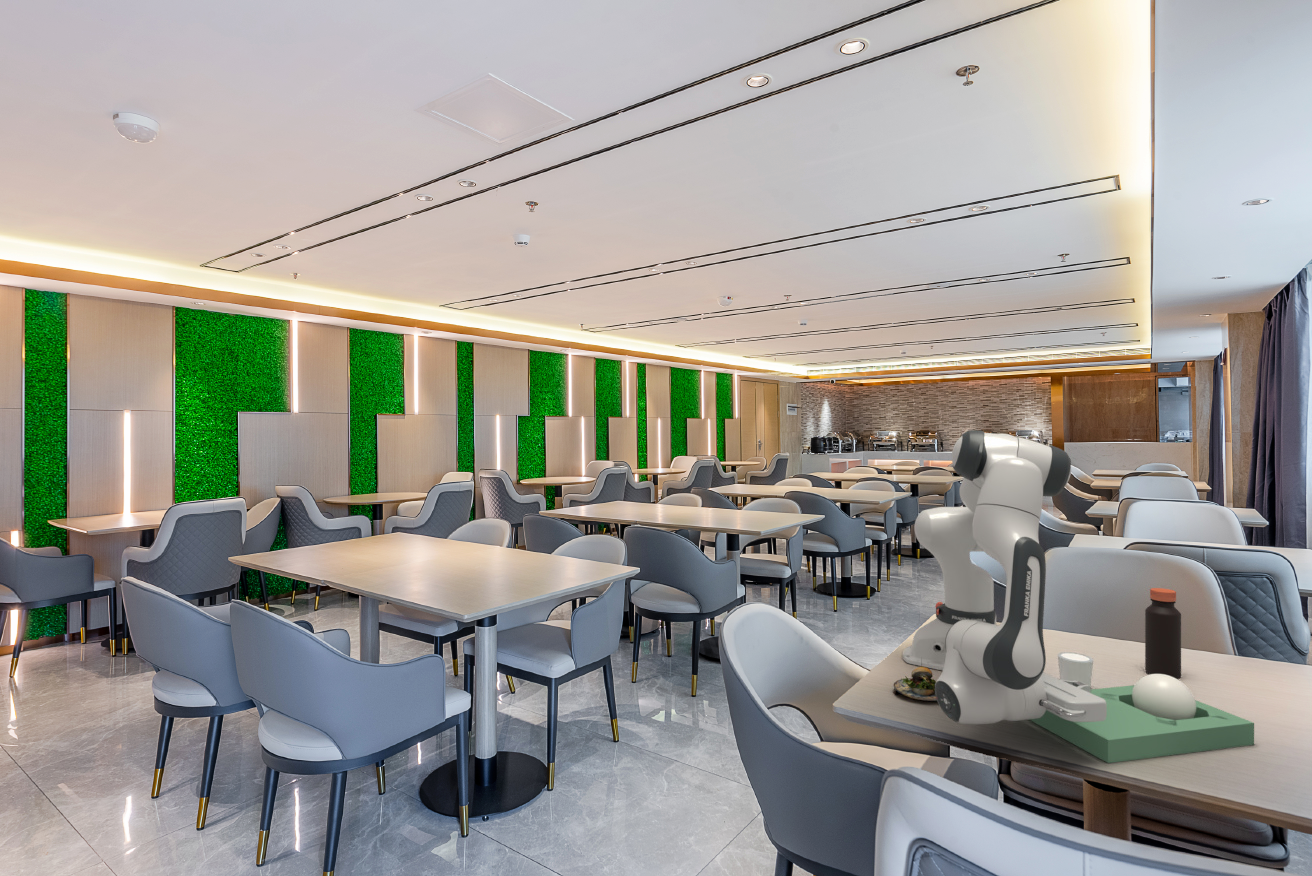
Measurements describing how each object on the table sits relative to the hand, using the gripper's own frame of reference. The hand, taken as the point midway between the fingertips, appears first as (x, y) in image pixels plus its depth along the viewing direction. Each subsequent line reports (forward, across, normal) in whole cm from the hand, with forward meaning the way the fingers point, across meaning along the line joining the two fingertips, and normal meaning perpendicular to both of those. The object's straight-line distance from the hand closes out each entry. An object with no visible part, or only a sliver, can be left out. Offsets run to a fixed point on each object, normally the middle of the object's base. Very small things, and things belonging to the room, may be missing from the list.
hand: (1084, 687), depth 127 cm
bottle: (+45, +23, +9) cm, 51 cm away
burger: (-18, +24, +10) cm, 32 cm away
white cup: (+18, +21, +9) cm, 29 cm away
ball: (+18, 0, +4) cm, 19 cm away
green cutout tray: (+11, 0, +9) cm, 14 cm away
